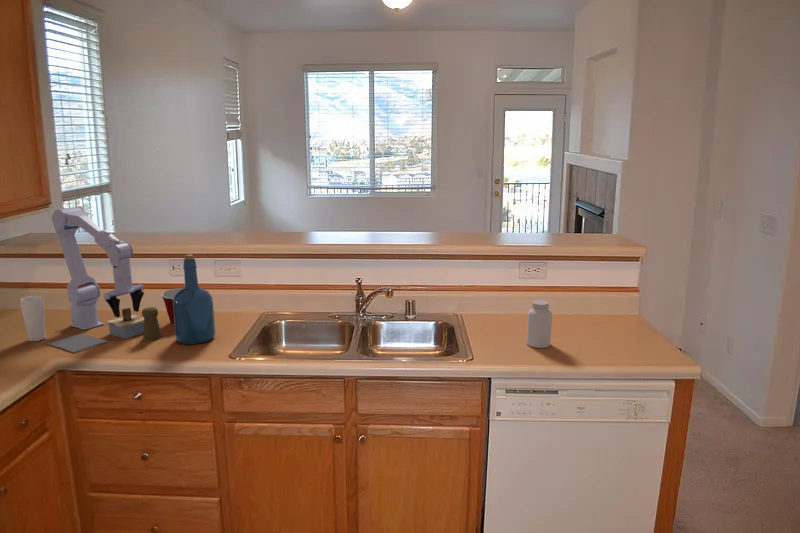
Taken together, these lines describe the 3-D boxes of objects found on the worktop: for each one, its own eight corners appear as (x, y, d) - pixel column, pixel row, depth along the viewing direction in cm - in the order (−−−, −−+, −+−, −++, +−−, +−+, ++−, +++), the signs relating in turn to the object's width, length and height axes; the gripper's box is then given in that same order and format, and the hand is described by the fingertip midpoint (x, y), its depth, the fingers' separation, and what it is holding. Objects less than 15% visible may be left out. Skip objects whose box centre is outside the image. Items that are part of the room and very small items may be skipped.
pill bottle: (536, 350, 201) (539, 306, 197) (521, 342, 208) (523, 300, 204) (555, 346, 204) (557, 303, 201) (539, 339, 211) (541, 297, 208)
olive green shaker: (155, 341, 210) (152, 310, 207) (139, 340, 211) (136, 309, 209) (165, 335, 216) (162, 305, 213) (149, 334, 217) (146, 304, 214)
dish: (109, 334, 217) (108, 323, 216) (132, 327, 225) (131, 316, 224) (125, 338, 213) (124, 327, 212) (147, 331, 220) (146, 320, 219)
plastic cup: (166, 329, 223) (163, 297, 220) (161, 321, 232) (158, 290, 229) (196, 324, 228) (194, 293, 225) (190, 316, 237) (188, 287, 234)
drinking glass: (53, 337, 214) (47, 296, 210) (34, 343, 208) (28, 301, 204) (40, 335, 216) (34, 294, 213) (21, 341, 210) (15, 299, 207)
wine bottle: (192, 330, 220) (185, 250, 214) (223, 335, 216) (217, 252, 209) (166, 343, 208) (158, 257, 201) (198, 347, 204) (191, 260, 197)
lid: (106, 323, 216) (104, 310, 215) (131, 316, 224) (130, 303, 223) (123, 328, 211) (122, 315, 210) (148, 320, 219) (147, 307, 218)
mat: (47, 344, 207) (47, 343, 207) (81, 334, 217) (81, 333, 217) (74, 353, 199) (74, 352, 199) (108, 342, 209) (108, 341, 209)
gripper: (110, 282, 206) (115, 321, 209) (147, 274, 218) (151, 310, 221) (98, 280, 210) (102, 317, 213) (135, 271, 222) (139, 307, 225)
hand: (126, 313), depth 217 cm, fingers open, 7 cm apart
